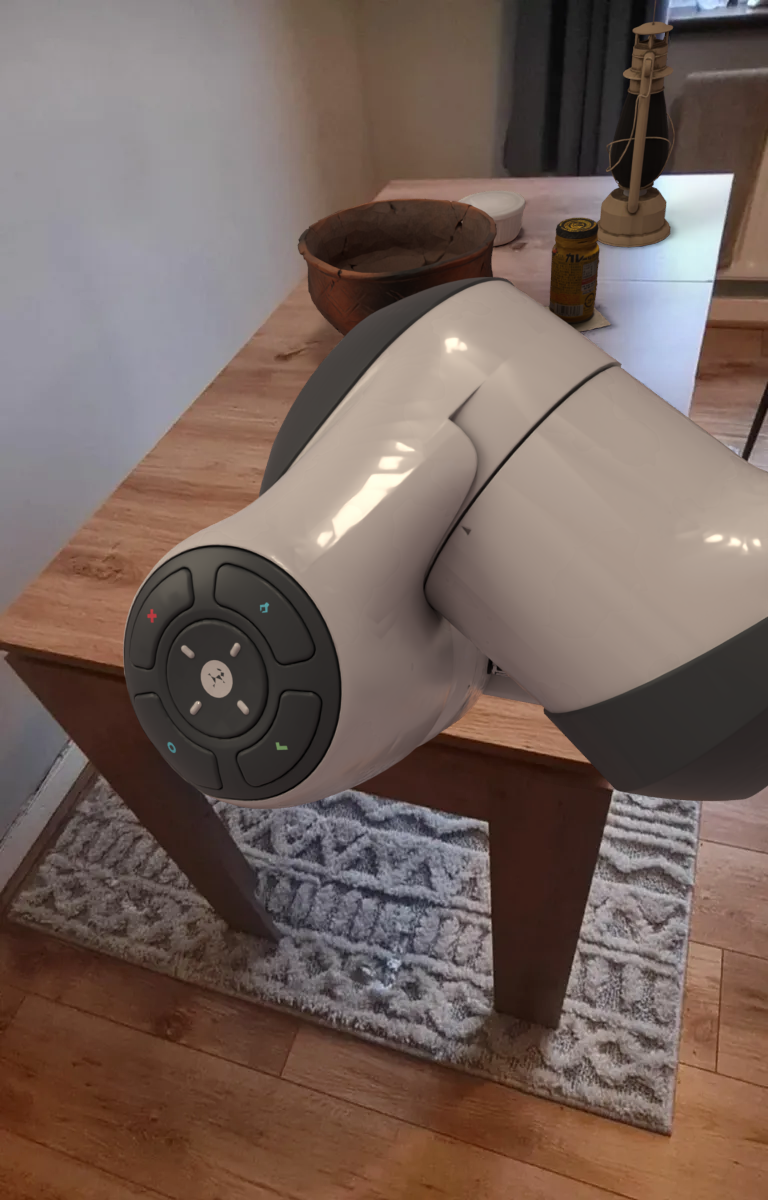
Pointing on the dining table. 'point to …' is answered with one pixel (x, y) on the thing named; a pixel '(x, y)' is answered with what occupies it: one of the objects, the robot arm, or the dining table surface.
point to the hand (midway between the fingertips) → (457, 632)
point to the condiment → (576, 274)
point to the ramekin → (500, 211)
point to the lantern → (640, 148)
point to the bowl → (392, 254)
